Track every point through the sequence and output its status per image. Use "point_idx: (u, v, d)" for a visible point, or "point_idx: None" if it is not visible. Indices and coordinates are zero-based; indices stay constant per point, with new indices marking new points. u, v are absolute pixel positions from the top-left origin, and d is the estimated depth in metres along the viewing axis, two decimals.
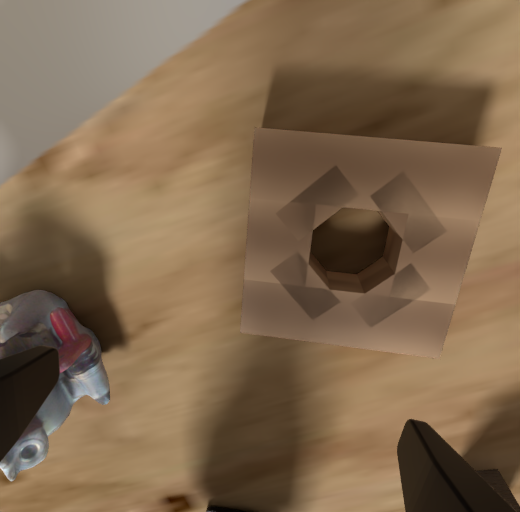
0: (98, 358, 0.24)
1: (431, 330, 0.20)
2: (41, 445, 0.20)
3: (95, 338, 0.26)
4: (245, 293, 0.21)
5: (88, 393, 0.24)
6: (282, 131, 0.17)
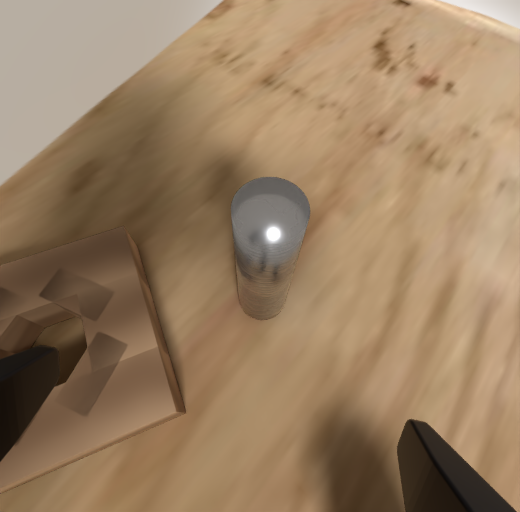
0: None
1: (150, 384, 0.18)
2: None
3: None
4: None
5: None
6: None
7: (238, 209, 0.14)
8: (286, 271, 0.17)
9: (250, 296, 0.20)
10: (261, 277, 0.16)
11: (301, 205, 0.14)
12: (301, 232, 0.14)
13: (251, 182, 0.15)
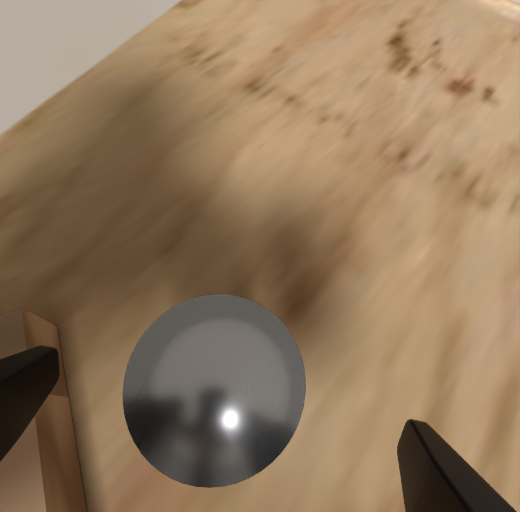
0: None
1: None
2: None
3: None
4: None
5: None
6: None
7: (141, 383, 0.06)
8: None
9: None
10: None
11: (286, 369, 0.06)
12: (285, 444, 0.06)
13: (178, 308, 0.07)
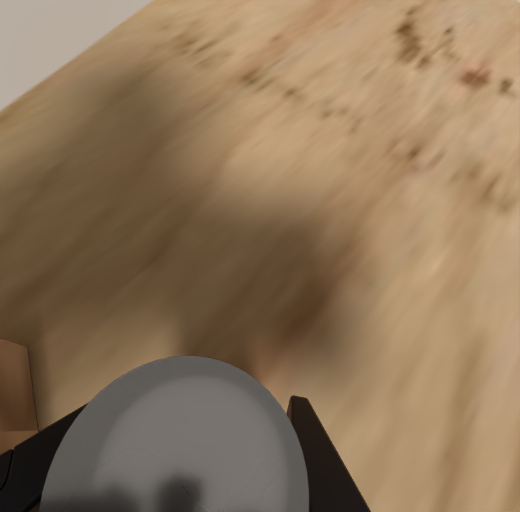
0: None
1: None
2: None
3: None
4: None
5: None
6: None
7: (66, 499, 0.04)
8: None
9: None
10: None
11: (281, 474, 0.04)
12: None
13: (128, 378, 0.05)
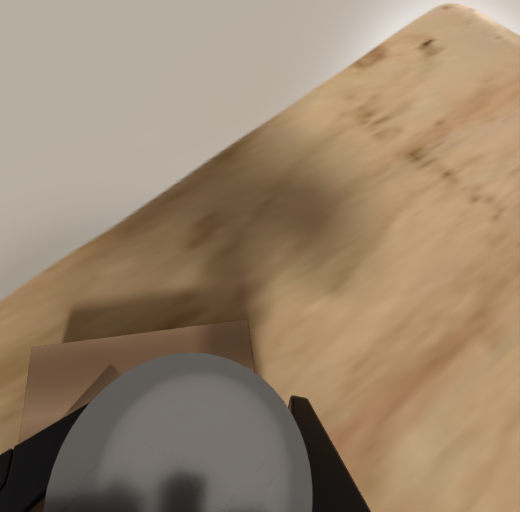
0: None
1: None
2: None
3: None
4: None
5: None
6: (58, 345, 0.19)
7: (71, 494, 0.04)
8: None
9: None
10: None
11: (284, 470, 0.04)
12: None
13: (132, 375, 0.05)
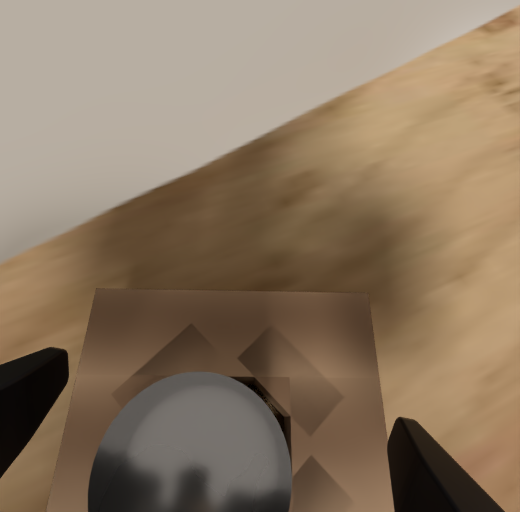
0: None
1: None
2: None
3: None
4: None
5: None
6: (129, 291, 0.15)
7: (108, 482, 0.05)
8: None
9: None
10: None
11: (270, 463, 0.06)
12: None
13: (152, 390, 0.06)
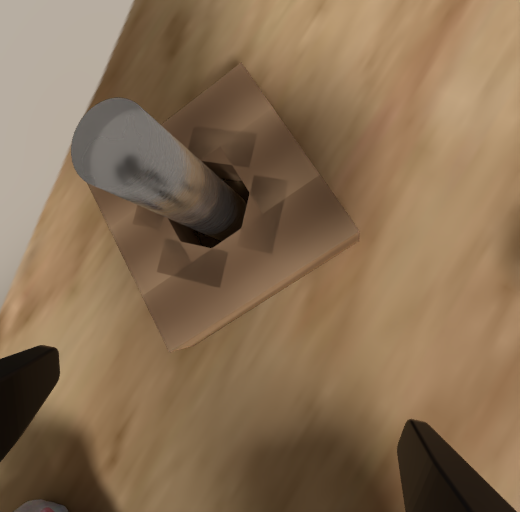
0: None
1: (324, 211, 0.18)
2: None
3: None
4: (150, 308, 0.20)
5: None
6: None
7: (82, 165, 0.12)
8: (192, 186, 0.15)
9: (198, 227, 0.18)
10: (174, 208, 0.15)
11: (135, 115, 0.12)
12: (151, 144, 0.12)
13: (78, 128, 0.12)
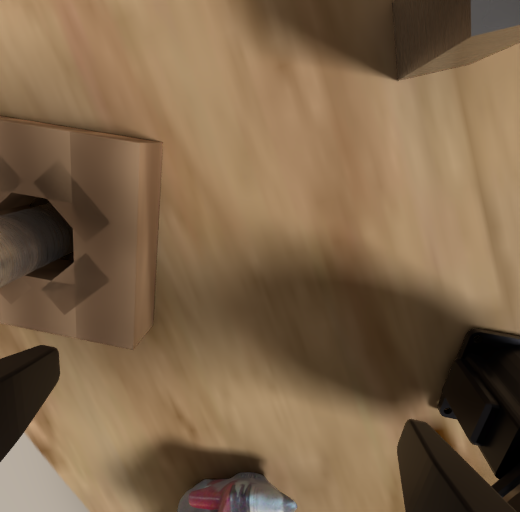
0: (249, 488, 0.24)
1: (104, 155, 0.17)
2: None
3: (245, 474, 0.27)
4: (90, 339, 0.21)
5: None
6: None
7: None
8: None
9: (43, 262, 0.18)
10: None
11: None
12: None
13: None
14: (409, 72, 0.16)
